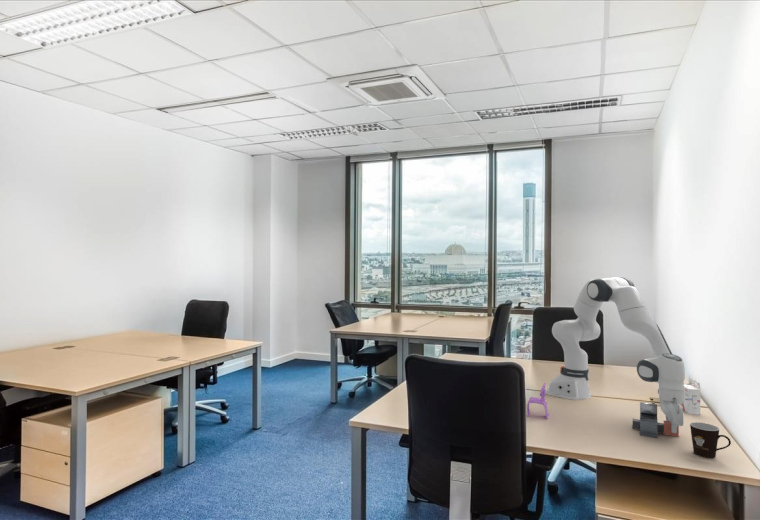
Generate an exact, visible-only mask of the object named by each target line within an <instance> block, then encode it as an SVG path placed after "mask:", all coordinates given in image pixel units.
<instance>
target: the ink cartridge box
mask: <svg viewBox="0 0 760 520" xmlns="http://www.w3.org/2000/svg"><path fill="white" fill-rule="evenodd" d="M687 384H688V383H686V384H684V388H685V401H684V402H681V406H682V408H683V412H684V411H685V413H687V414H688V415H697V416H698V415H701V385H700V384H701V383H700V382H699V381H697V380H696V379H694V378H691V385H687Z"/></svg>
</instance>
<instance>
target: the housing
mask: <svg viewBox="0 0 760 520" xmlns="http://www.w3.org/2000/svg"><path fill="white" fill-rule="evenodd" d="M639 420H640V430H639V436H643V437H648V438H655V439H658V437H659V436H658V434H659V433H657V422H658V403H657V404H656V403H649V402H644V401H642V402H640V401H639Z"/></svg>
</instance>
